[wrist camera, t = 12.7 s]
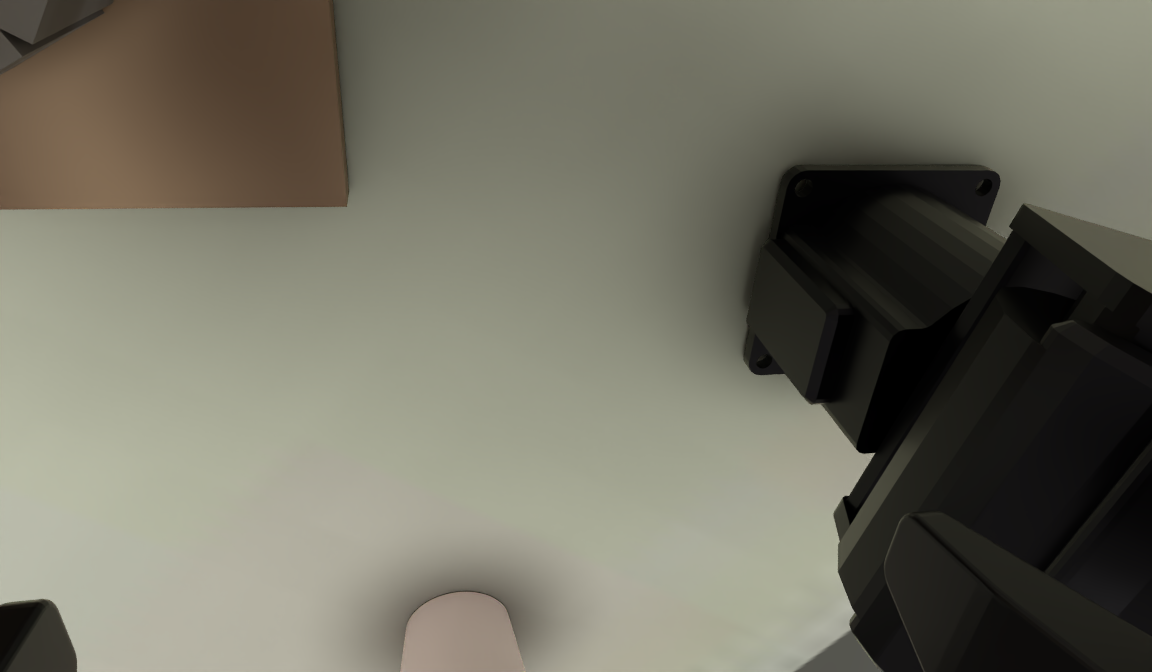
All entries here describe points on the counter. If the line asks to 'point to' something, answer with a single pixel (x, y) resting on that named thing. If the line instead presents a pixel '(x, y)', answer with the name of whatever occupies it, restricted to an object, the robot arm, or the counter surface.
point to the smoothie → (461, 636)
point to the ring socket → (170, 104)
